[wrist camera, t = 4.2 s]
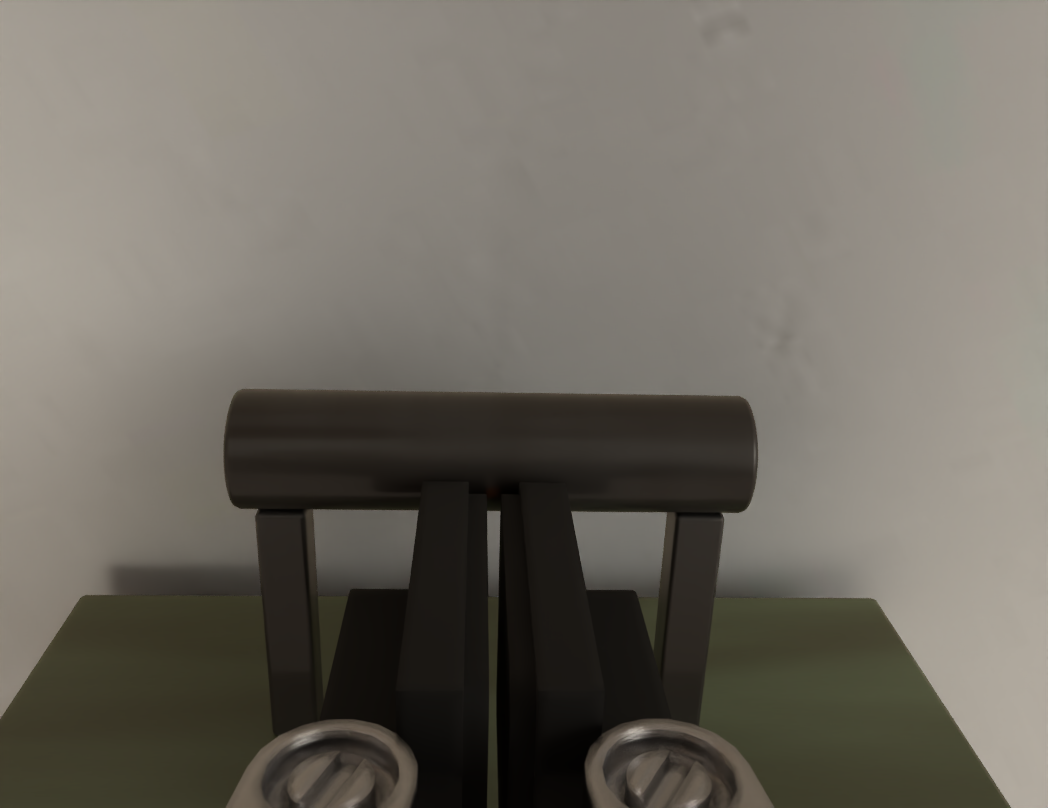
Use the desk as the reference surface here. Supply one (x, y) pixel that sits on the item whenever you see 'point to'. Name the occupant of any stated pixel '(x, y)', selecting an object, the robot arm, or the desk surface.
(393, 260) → the desk surface
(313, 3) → the desk surface
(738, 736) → the drawer
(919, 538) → the desk surface
